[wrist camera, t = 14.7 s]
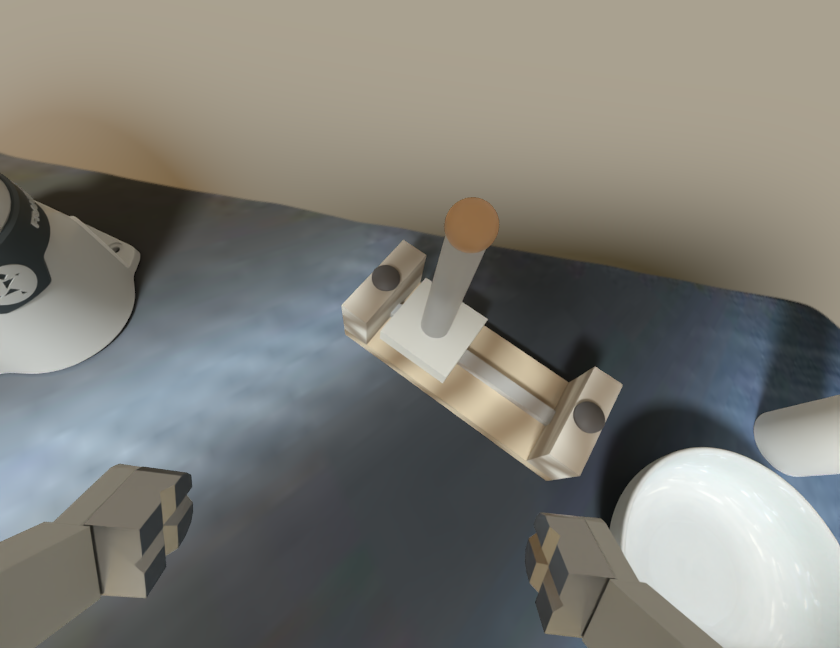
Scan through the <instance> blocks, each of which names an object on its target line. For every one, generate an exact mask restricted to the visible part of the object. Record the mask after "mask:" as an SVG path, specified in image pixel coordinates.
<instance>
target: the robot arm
mask: <svg viewBox="0 0 840 648" xmlns="http://www.w3.org/2000/svg"><path fill="white" fill-rule="evenodd" d="M117 251H119V252H117ZM116 252H117V253H116ZM139 261H140V253H139V252H138V251H137V250H136V249H135V248H134V247H133V246H131V245H129V244H127V243H125V242H123V241H120V240H118V239H116V238H114V237H112V236H110V235H108V234H106V233H103V232H101V231H99V230H97V229H95V228H93V227H91V226H89V225H86V224H84V223H83V222H81V221H80V220H79V219H78V218H76V217H75V216H67V215H65V214H63V213H61V212H59V211H57V210H55V209H53V208H50V207H48V206H46V205H44V204H42V203H40V202H37V201H35V200H33V199H32V198H31V196H30V195H29V194H28V193H26V192H25V191H24V190H23V189H22V188H21V187H19V186H18V185H17V184H16V183H14V182H12V181H10V180H9V179H8V178H7V177H6V176H4V175H2V174H1V173H0V374H3V373H25V374H37V373H47V372H53V371H57V370H61V369H64V368H67V367H70V366H73V365H75V364H78V363H80V362H82V361H84V360H86V359H88V358H89V357H91V356H93V355H94V354H96V353H97V352H99V351H100V350H101V349H103V348H104V347H105V346H106V345H108V344H109V343H110V342H111V341H112V340H113V339H114V338H115V337H116V336H117V335H118V334H119V332H120V331H121V330H122V328H123V327H124V326H125V324H126V322H127V321H128V319H129V317H130V314H131V312H132V309H133V305H134V300H135V287H134V273H135V271H136V269H137V266H138V264H139ZM191 488H192V479H191V475H190V474H188V473H185V472H178V471H171V470H164V469H156V468H149V467H138V466H131V465H124V464H118V465H115V466H113V467H111V468H110V469H109V470H108V471H107V472H105V473H104V474H103V475H102V476H101V477H100V478H99V479H98V480H97V481H96V482H95V483H94V484H93V485H92V486H91V487H90V488H89V489H88V490H86V491H85V492H84V493H83V494H82V495H81V496H80V497H79V498H78V499H77V500H76V501H75V502H74V503H73V504H72V505H71V506H70V507H68V508H67V509H66V510H65V511H64V512H63V513H62V514H61V515H60V516H59V517H58V518H57V519H56V520H55V521H54V522H43V523H41V524H39V525H37V526H34V527H32V528H30V529H28V530H26V531H23V532H21V533H19V534H17V535H15V536H13V537H10V538H8V539H6V540H4V541H2V542H0V648H35V647H36V646H37V645H39V644H40V643H41V642H43V641H44V640H45V639H47V638H48V637H49V636H51V635H52V634H53V633H55V632H56V631H57V630H59V629H60V628H61V627H63V626H64V625H66V624H67V623H68V622H70V621H71V620H72V619H74V618H75V617H76V616H78V615H79V614H80V613H82V612H83V611H84V610H86V609H87V608H88V607H90V606H91V605H92V604H94V603H95V602H96V601H98V600H99V599H100V598H101V595H103V596H120V597H138V598H147V596H148V595H149V593H150V591H151V590H152V588H153V587H154V585H155V584H156V582H157V581H158V579H159V577H160V576H161V574H162V573H163V571H164V570H165V568H166V556H167V555H168V554H170V553H171V552H173V551H174V550H176V549H177V548H179V546H180V544H181V543H182V541H183V539H184V538H185V536H186V534H187V531H188V529H189V526H190V523H191V520H192V514H193V502H192V501H191V500H190V498H189V497H188V496H187V493H188V492H189V491H190V489H191ZM533 525H534V528H535V530H536V533H535V534H534V535H533V536H531V537H530V538H529V539H528V542H527V546H526V549H525V566H526V572H527V576H528V579H529V583H530V584H531V585H532V586H533V587H534V588H535V589H536V590H537V592H538V596H537V598H536V601H535V603H536V607H537V610H538V613H539V617H540V620H541V623H542V627H543V630H544V633H545V634H553V635H562V636H570V637H578V638H583V639H582V641H583V642H584V644H585V645H586V646H587V647H588V648H723V647H722V646H721V645H720V644H718V643H717V642H716V641H715V640H714V639H713V638H711V637H710V636H709V635H708V634H707V633H705V632H704V631H703V630H702V629H701V628H699V627H698V626H697V625H696V624H695V623H693V622H692V621H691V620H690V619H689V618H688V617H686V616H685V615H684V614H683V613H682V612H680V611H679V610H678V609H677V608H676V607H674V606H673V605H672V604H671V603H670V602H668V601H667V600H666V599H665V598H664V597H663V596H661V595H660V594H659V593H658V592H657V591H655V590H654V589H653V588H652V587H651V586H649V585H648V584H647V583H644V582H639V580H638V578H637V576H636V575H635V573H634V571H633V569H632V568H631V566H630V564H629V563H628V561H627V559H626V557H625V556H624V554H623V552H622V550H621V549H620V547H619V545H618V544H617V542H616V540H615V538H614V537H613V535H612V533H611V531H610V530H609V528H608V526H607V524H606V523H605V522H604V521H603V520H602V519H601V518H591V517H578V516H570V515H560V514H550V513H539V514H538V515H537V516H536V519H535V522H534V524H533Z"/></svg>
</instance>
